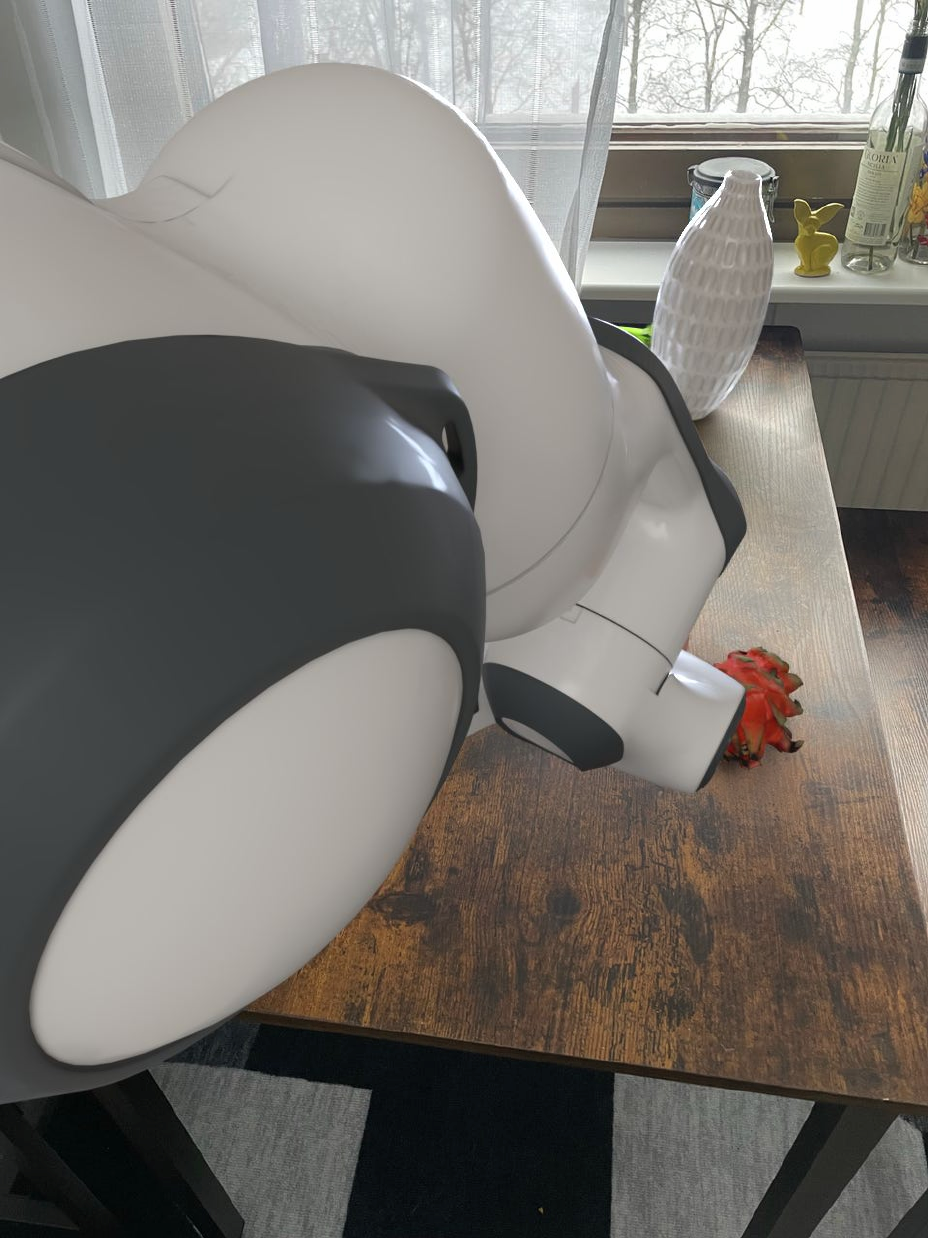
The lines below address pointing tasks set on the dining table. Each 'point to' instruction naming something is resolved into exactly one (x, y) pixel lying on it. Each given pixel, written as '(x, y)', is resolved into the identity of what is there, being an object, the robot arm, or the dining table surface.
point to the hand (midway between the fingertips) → (355, 573)
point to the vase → (715, 294)
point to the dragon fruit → (762, 705)
